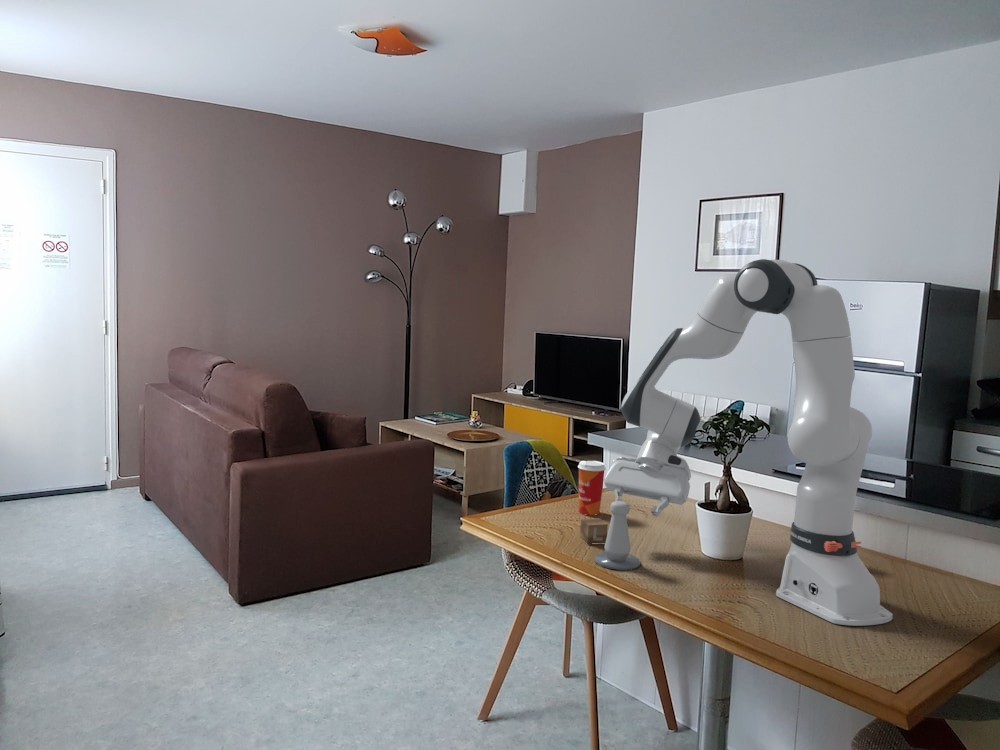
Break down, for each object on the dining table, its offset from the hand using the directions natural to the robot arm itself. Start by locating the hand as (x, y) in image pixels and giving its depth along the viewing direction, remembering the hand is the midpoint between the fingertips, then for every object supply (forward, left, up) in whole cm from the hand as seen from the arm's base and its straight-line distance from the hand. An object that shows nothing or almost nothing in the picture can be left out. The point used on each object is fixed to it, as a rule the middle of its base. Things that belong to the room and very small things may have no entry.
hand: (635, 510), depth 178 cm
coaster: (-6, +7, -10) cm, 13 cm away
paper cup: (+32, -2, -10) cm, 34 cm away
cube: (+9, +6, -10) cm, 15 cm away
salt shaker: (-5, +7, -9) cm, 13 cm away
